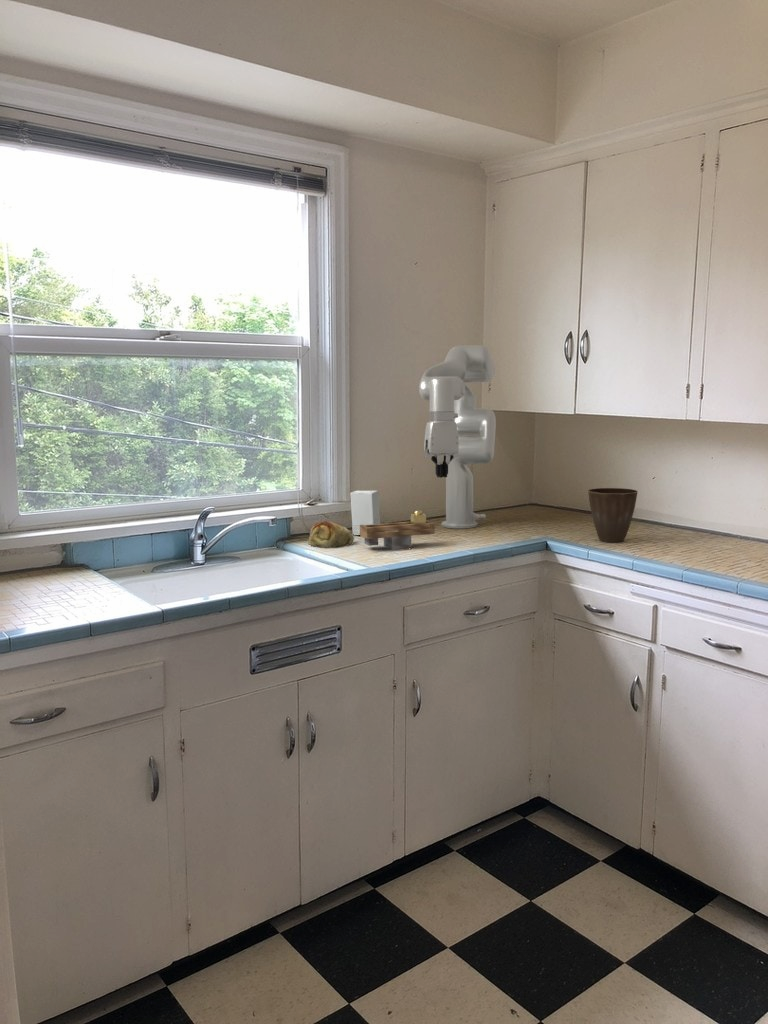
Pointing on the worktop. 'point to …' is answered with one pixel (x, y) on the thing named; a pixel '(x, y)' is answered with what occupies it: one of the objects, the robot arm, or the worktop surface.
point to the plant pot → (612, 512)
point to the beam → (395, 533)
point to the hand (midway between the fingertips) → (441, 476)
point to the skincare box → (364, 509)
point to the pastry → (329, 535)
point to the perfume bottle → (418, 517)
